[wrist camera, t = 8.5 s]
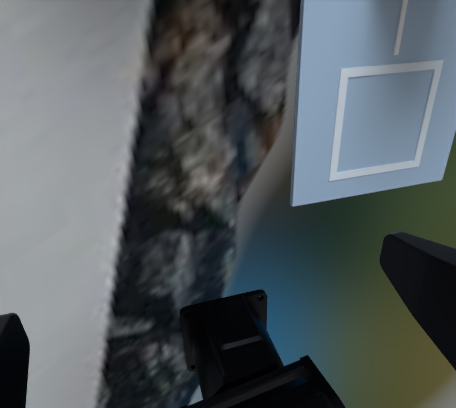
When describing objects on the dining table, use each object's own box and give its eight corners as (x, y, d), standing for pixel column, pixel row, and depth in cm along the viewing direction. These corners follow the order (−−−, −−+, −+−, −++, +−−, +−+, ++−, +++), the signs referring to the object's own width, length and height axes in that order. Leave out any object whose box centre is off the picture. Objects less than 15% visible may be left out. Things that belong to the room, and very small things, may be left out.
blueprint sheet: (437, 177, 27) (443, 180, 27) (289, 204, 24) (293, 207, 24) (554, -261, 17) (565, -268, 16) (316, -300, 14) (323, -310, 13)
